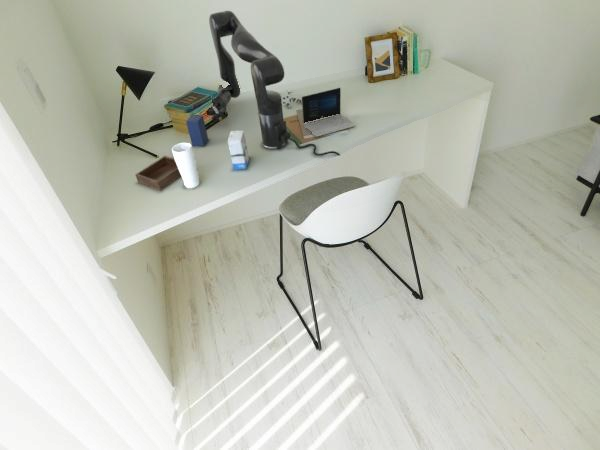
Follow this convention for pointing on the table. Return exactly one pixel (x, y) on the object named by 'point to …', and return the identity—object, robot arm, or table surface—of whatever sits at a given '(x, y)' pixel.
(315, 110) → the laptop
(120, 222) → the table surface
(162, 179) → the desk tray
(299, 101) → the molecule model
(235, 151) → the ink box
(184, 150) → the drinking glass
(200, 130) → the carton
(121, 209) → the table surface
